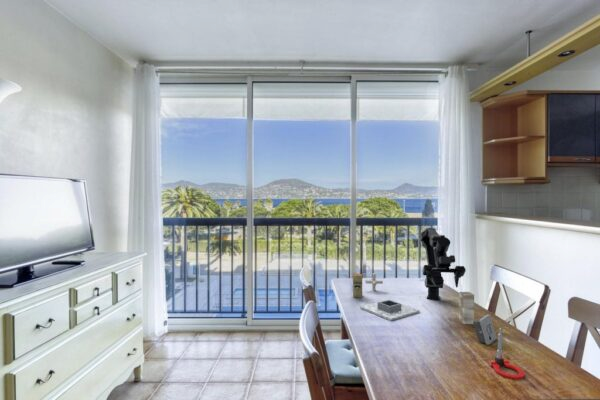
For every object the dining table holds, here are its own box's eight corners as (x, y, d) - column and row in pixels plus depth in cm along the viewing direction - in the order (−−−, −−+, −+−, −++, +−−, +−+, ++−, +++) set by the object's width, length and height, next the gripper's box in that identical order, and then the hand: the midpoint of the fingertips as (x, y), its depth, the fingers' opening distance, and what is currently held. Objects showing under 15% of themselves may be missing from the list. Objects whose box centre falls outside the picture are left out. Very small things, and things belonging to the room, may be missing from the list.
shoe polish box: (362, 297, 187) (362, 276, 186) (353, 297, 188) (353, 275, 187) (362, 295, 191) (362, 273, 191) (353, 294, 192) (353, 273, 192)
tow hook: (531, 379, 105) (508, 363, 114) (532, 339, 104) (510, 326, 113) (506, 382, 104) (485, 365, 113) (507, 341, 103) (487, 327, 112)
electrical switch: (488, 346, 127) (486, 321, 128) (474, 343, 131) (471, 318, 132) (497, 338, 134) (494, 315, 134) (483, 336, 137) (481, 312, 138)
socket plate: (388, 301, 180) (388, 294, 180) (419, 312, 163) (419, 305, 163) (360, 308, 169) (360, 301, 169) (390, 320, 153) (390, 313, 153)
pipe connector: (381, 288, 205) (381, 271, 205) (383, 293, 195) (383, 275, 195) (364, 287, 206) (364, 271, 206) (366, 292, 196) (366, 275, 196)
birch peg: (459, 320, 153) (459, 291, 153) (468, 320, 153) (468, 291, 153) (464, 324, 148) (464, 294, 148) (474, 324, 149) (474, 294, 148)
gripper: (423, 248, 164) (428, 277, 154) (465, 249, 161) (472, 279, 151) (420, 260, 172) (424, 289, 162) (459, 261, 169) (466, 290, 159)
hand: (446, 286), depth 158 cm, fingers open, 9 cm apart
